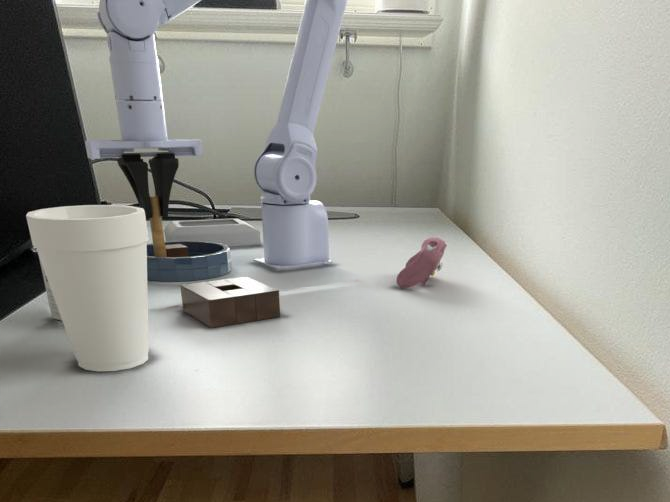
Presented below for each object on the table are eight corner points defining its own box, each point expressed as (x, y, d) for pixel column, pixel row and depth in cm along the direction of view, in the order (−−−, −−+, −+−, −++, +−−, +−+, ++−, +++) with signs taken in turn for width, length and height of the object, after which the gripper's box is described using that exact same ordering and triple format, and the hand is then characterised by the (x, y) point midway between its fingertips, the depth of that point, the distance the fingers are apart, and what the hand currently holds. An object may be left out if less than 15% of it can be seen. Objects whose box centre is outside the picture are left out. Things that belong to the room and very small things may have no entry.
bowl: (209, 261, 103) (206, 237, 101) (247, 277, 93) (245, 251, 91) (121, 271, 96) (117, 246, 94) (152, 289, 86) (148, 262, 84)
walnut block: (182, 264, 98) (180, 243, 96) (190, 268, 96) (187, 246, 94) (162, 267, 96) (159, 245, 95) (170, 270, 94) (167, 248, 93)
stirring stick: (165, 260, 93) (156, 195, 89) (169, 262, 92) (160, 196, 88) (153, 261, 92) (144, 195, 88) (157, 263, 91) (148, 196, 87)
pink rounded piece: (422, 301, 88) (449, 254, 84) (392, 284, 87) (418, 235, 84) (430, 285, 96) (455, 241, 93) (403, 269, 96) (427, 224, 92)
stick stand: (248, 301, 81) (246, 276, 80) (280, 316, 75) (279, 290, 74) (183, 310, 77) (179, 284, 76) (211, 328, 71) (208, 300, 70)
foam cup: (105, 385, 56) (74, 223, 50) (38, 365, 61) (1, 213, 54) (186, 355, 63) (168, 210, 57) (120, 339, 68) (96, 202, 61)
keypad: (259, 224, 112) (168, 228, 107) (261, 247, 114) (171, 252, 109) (247, 216, 120) (162, 220, 115) (249, 238, 121) (165, 242, 117)
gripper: (88, 99, 76) (109, 224, 83) (206, 101, 83) (217, 216, 90) (73, 100, 81) (94, 217, 88) (186, 101, 88) (197, 210, 95)
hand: (155, 216), depth 89 cm, fingers closed on stirring stick, 1 cm apart
